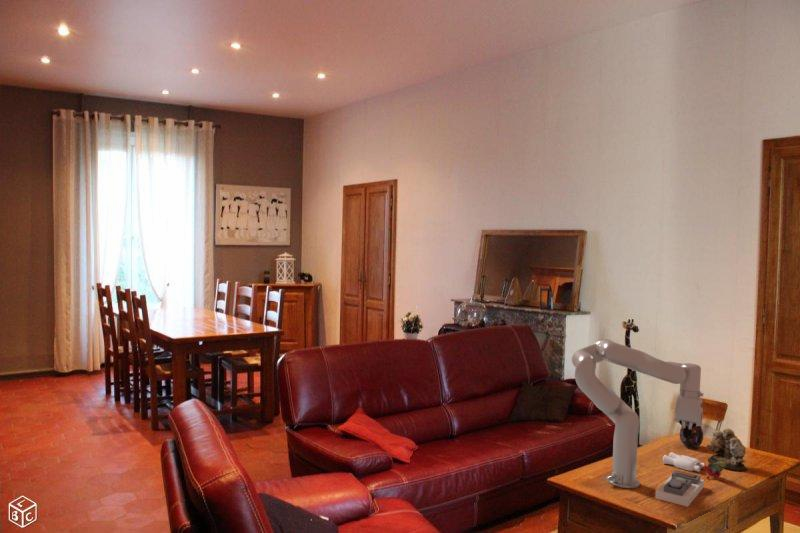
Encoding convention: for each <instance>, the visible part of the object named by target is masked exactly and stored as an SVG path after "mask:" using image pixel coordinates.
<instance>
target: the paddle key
mask: <svg viewBox="0 0 800 533" xmlns="http://www.w3.org/2000/svg"><path fill="white" fill-rule="evenodd" d="M676 474H678V475H683V476H687V477H691V478H696V475H697V474H694V473H690V472H685V471H681V470H678V471H677V472H676Z"/></svg>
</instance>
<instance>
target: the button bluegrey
mask: <svg viewBox="0 0 800 533" xmlns="http://www.w3.org/2000/svg"><path fill="white" fill-rule="evenodd" d="M670 486H671V487H673V488H681V481H679V480H676V479H671V480H670Z"/></svg>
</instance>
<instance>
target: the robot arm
mask: <svg viewBox="0 0 800 533" xmlns="http://www.w3.org/2000/svg"><path fill="white" fill-rule="evenodd" d="M603 361H606V362H607V363H611V364H613V365H617V366H621V367H624V368H626V369H630V370H633V371H635V372H637V373H641V374H644V375H647V376H650V377H652V378H655V379H658V380H661V381H664V382H668V383H670V384H674V385H679V394H678V395H677V398H676V400H675V401H676V402H675V407H674V419H673V421H674V422H676V423H679V424H680V425H681V427H683V435H684V438H687V439H689V438H690V437H691V436H692V428H694V427H695V426H701V427H702V426H703V420H704V417H703V415H704V411H703V400H702V398H701V397H704V393H703V392H701V376H702V375H701V372H702V371H701V370H702V368H701V366H700V365H699V364H696V363H680V362H674V361H664V360H662V359H660V358H657V357H654V356H652V355H650V354H648V353H647V352H645V351H642V350H640V349H639V350H638V349H635V348H632V347H629V346H626V345H624V344H621V343H618V342H615V341H613V340H611V339H608V338H607V339H602V340H598V341H596V342H594V343H592V344H589V345H587V346H584V347H582V348H579V349H578V350H576V351H575V352H574V353H573V354H572V356H571V362H572V365H573V366H574V367H575V370H574V379H575V382H576V385H577V387H578V388H579V389H580V391H581V392H582V393H583V394H584V395H585V396H586V397H587V398H588V399H589V400H590V401H591V402H592V403H593V404H594V405H595V406H596V408H598V410H600V411H601V412H602V413H603V414H604V415H605V416H606V417H607V418H609V419H610V420H611V421H612V422H613V424H614V425H615V426H614V433H613V443H612V446H613V447H612V467H611V468H612V471H611V472H610V474H609V475H608V476H605V477H604V480H605V481H606V482H608V483H609V484H611V485H613V486H615V487H619V488H623V489H636V488H639V487H640V485H641V482H640V480H639V479H637V470H638V469H637V467H638V466H637V465H638V443H639V442H638V441H639V440H638V439H639V432H640V427H641V423H640V422H641V420H640V417H639V414H637V412H636V411H635V410H633V408H632V407H630V406H629V405H628V404H627V403H626V402H625V401H624V400H623V399H622V398H620V397H619V396H618V394H616V392H615V391H614V390H612V388H610V387H608V386H606V384H604V383H603V382H602V381H601V379H599V378H598V377H597V374H596V369H597V364H598V363H601V362H603ZM687 422H690V423H689V427H688V426H687Z"/></svg>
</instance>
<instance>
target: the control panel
mask: <svg viewBox="0 0 800 533" xmlns="http://www.w3.org/2000/svg"><path fill="white" fill-rule="evenodd" d="M677 471H679V470H677V469H675V470H673V472H671V475H670V476H669V477H668V478H667V479H666V480H665V481H664V482H663V483H662V484H661V485H660V486H659V487H658V488H656V490H655V499H656V500H661V501H664V502H669V503H672V504H676V505H680V506H683V507H687V508H688V507H689V506H690V505H691V503H692V502H693V501H694V500H695V499H696V497H697V496H698V495H699V494H700V493H701V491H702V490H703V488H704V487H705V480H704V479H702V478H701V475H699V474H695V475H696V478H691V477H687V476H683V475H678V474H676V472H677ZM677 477H680V478H684V479H686V484H685V483H681V488H673V487H671V486H670V480H671V479H675V478H677Z"/></svg>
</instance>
